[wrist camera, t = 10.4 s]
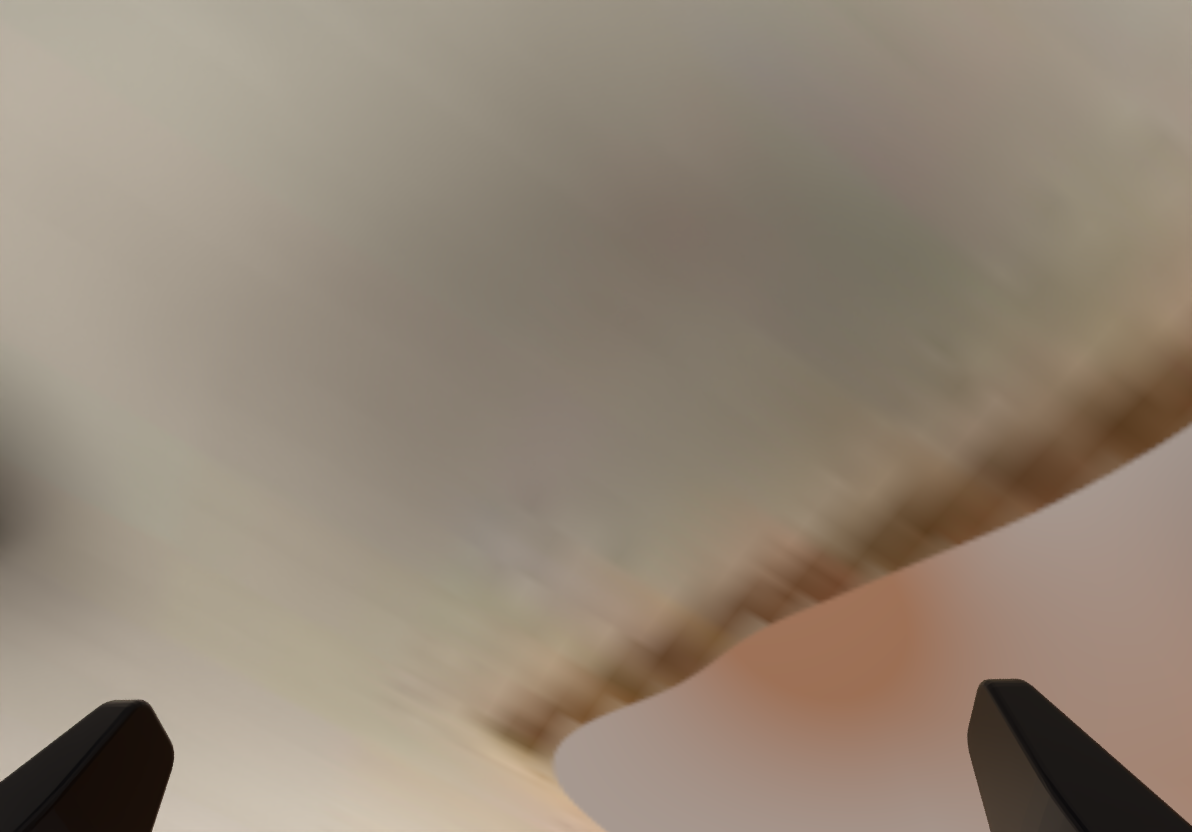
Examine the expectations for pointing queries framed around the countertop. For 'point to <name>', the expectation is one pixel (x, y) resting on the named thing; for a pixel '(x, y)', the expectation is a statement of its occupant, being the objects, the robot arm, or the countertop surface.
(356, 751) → the countertop surface
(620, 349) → the countertop surface
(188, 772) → the countertop surface
